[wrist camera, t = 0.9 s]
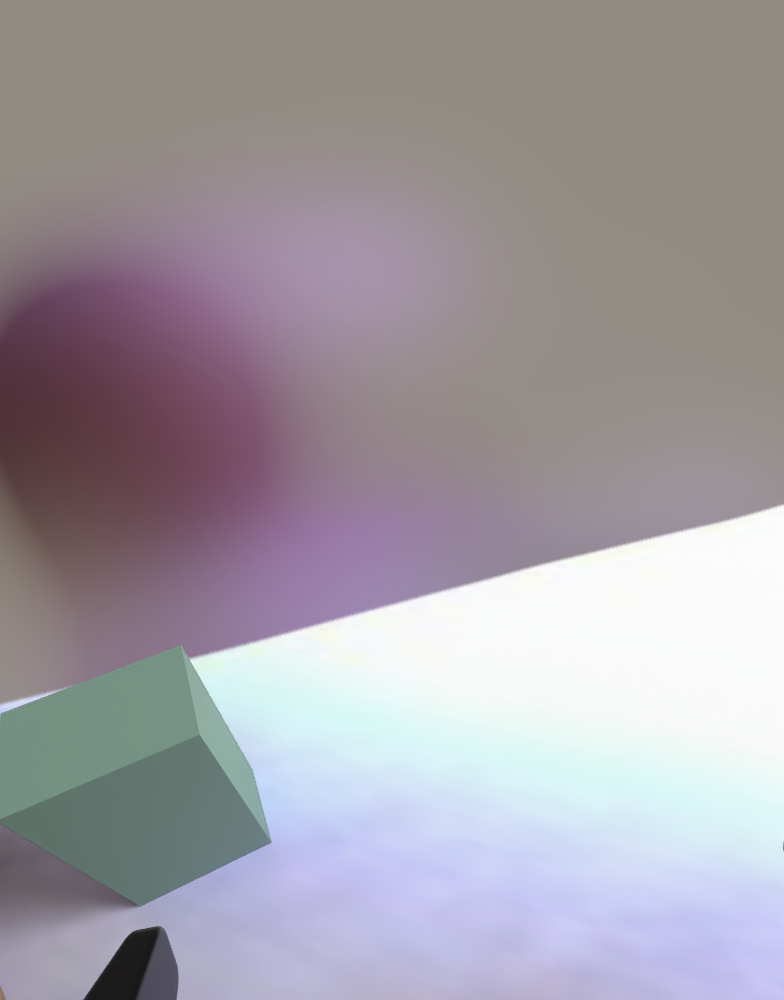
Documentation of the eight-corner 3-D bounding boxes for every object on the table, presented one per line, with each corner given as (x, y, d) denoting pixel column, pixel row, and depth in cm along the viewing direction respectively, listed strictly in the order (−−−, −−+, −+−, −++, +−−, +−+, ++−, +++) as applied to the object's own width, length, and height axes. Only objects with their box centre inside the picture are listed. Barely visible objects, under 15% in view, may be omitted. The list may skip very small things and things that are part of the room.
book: (271, 842, 22) (199, 734, 15) (138, 907, 21) (-7, 822, 14) (252, 769, 24) (180, 644, 17) (129, 825, 23) (-2, 714, 16)
